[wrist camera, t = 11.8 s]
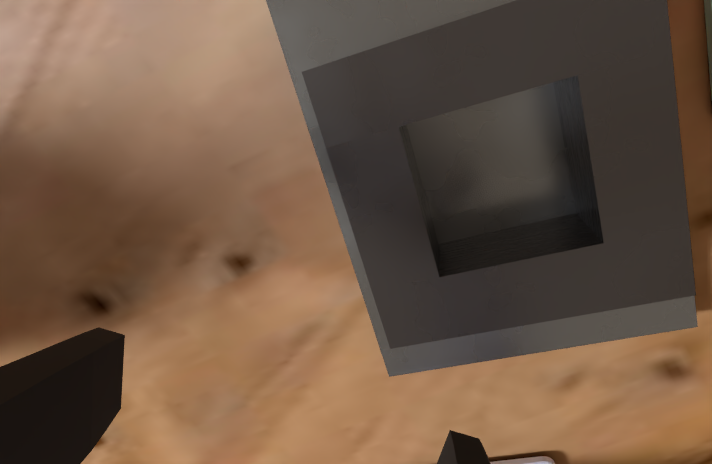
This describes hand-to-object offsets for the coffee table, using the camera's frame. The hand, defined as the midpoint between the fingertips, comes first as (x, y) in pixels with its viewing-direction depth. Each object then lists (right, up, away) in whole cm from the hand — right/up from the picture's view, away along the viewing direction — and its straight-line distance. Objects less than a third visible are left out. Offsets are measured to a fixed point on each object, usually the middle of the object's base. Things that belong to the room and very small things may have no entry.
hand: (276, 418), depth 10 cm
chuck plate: (+7, +7, +8) cm, 12 cm away
